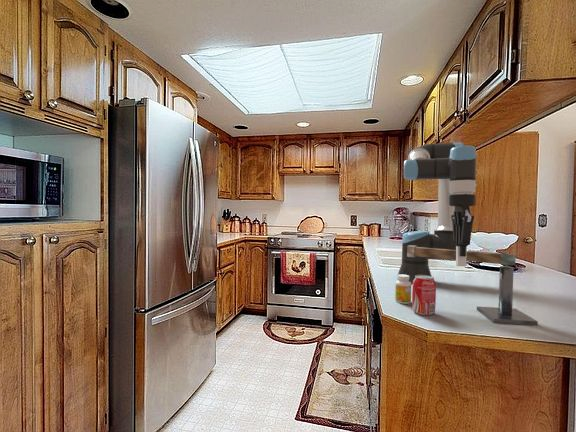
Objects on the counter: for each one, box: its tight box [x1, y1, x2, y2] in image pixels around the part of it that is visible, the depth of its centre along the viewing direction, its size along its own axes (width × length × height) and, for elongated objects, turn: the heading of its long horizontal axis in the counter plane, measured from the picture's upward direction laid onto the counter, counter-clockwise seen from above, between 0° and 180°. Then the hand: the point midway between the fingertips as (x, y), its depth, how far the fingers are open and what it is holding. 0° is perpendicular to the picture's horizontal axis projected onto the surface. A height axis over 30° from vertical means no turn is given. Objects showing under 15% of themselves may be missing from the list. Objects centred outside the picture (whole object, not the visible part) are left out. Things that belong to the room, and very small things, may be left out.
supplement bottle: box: [394, 274, 412, 305], centre depth 117 cm, size 5×5×10 cm
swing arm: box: [407, 245, 517, 266], centre depth 109 cm, size 32×4×4 cm, turn 55°
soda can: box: [411, 275, 437, 316], centre depth 105 cm, size 7×7×12 cm
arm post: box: [476, 265, 539, 326], centre depth 102 cm, size 12×12×16 cm
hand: (461, 265), depth 105 cm, fingers closed
